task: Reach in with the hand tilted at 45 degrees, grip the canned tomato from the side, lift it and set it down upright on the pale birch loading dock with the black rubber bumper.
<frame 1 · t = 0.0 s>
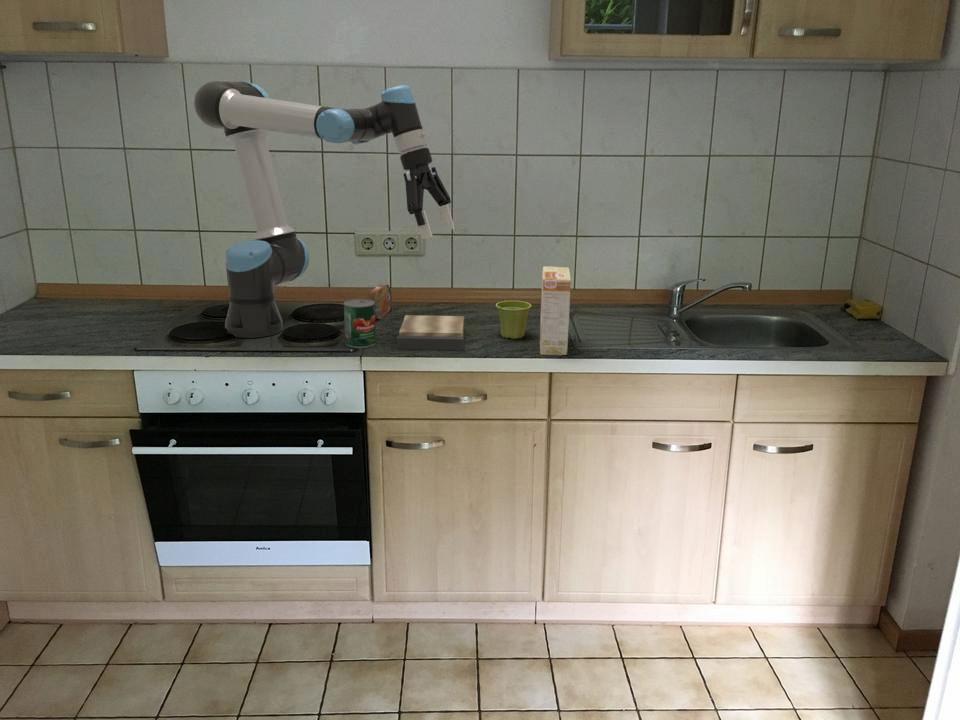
hand: (439, 234, 197), 28 cm above the table, tool tilted 20°, fingers open, 13 cm apart
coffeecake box: (552, 347, 202), on the table
dock: (432, 338, 206), on the table
canned tomato: (360, 344, 201), on the table
plant pot: (512, 336, 210), on the table
orange brown packet: (379, 316, 228), on the table
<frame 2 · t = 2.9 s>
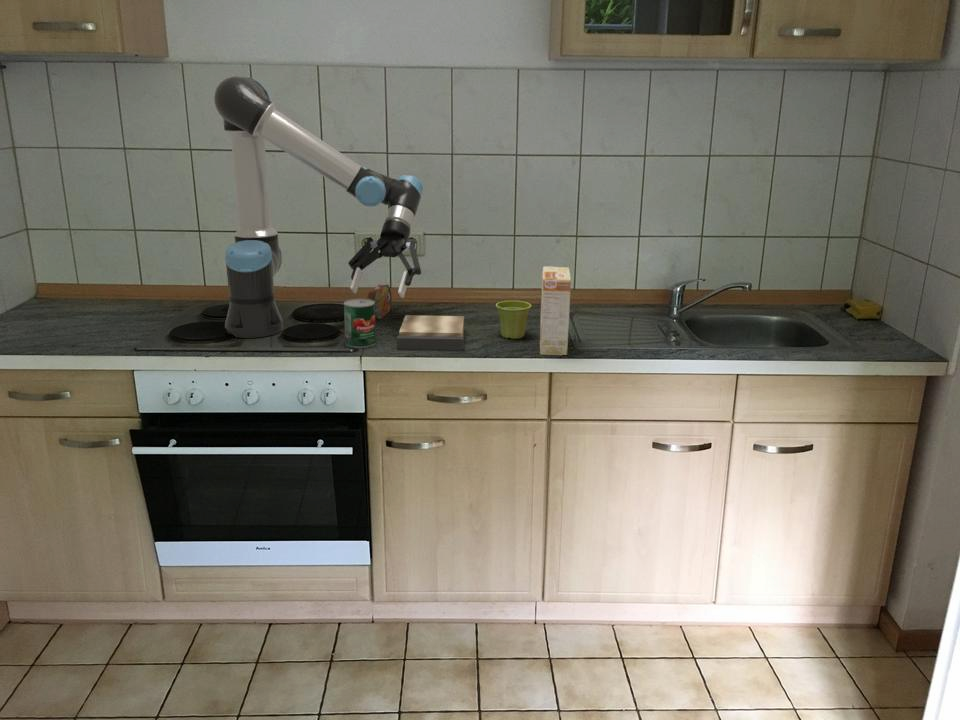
hand: (376, 293, 204), 12 cm above the table, tool tilted 45°, fingers open, 13 cm apart
nothing on the table moved.
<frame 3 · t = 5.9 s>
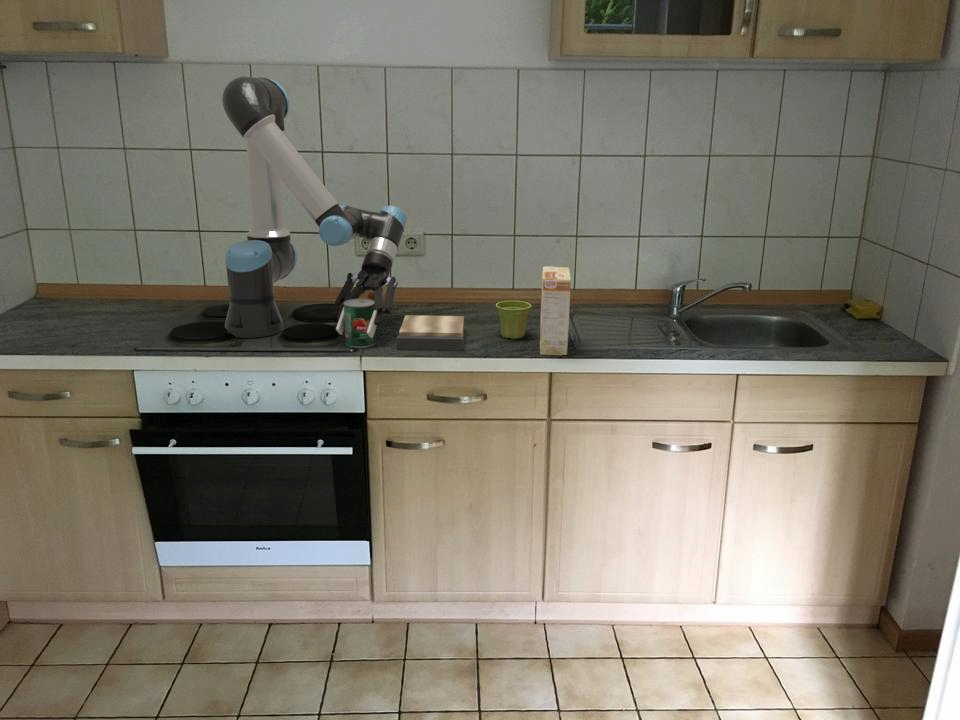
hand: (354, 333, 197), 4 cm above the table, tool tilted 45°, fingers closed on canned tomato, 8 cm apart
canned tomato: (360, 344, 201), on the table, touching gripper
everything else where it was.
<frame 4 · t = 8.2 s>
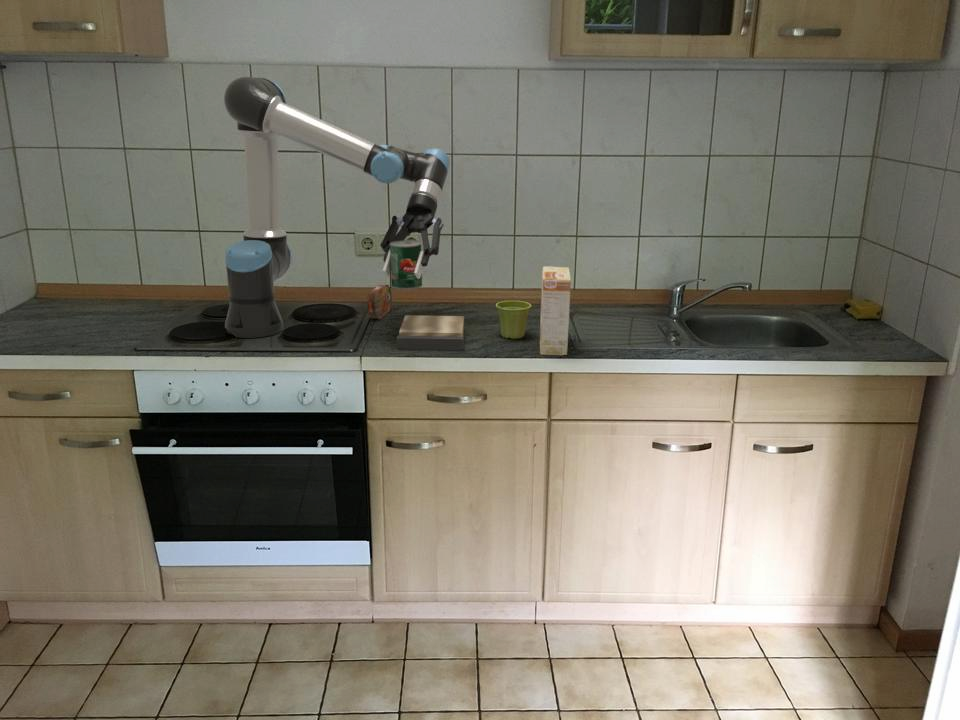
hand: (401, 274, 195), 18 cm above the table, tool tilted 45°, fingers closed on canned tomato, 8 cm apart
canned tomato: (406, 286, 199), point 15 cm above the table, touching gripper
everything else where it was.
when the fingers open (9 cm above the table, at t = 10.5 s): canned tomato drops 1 cm, resting on dock.
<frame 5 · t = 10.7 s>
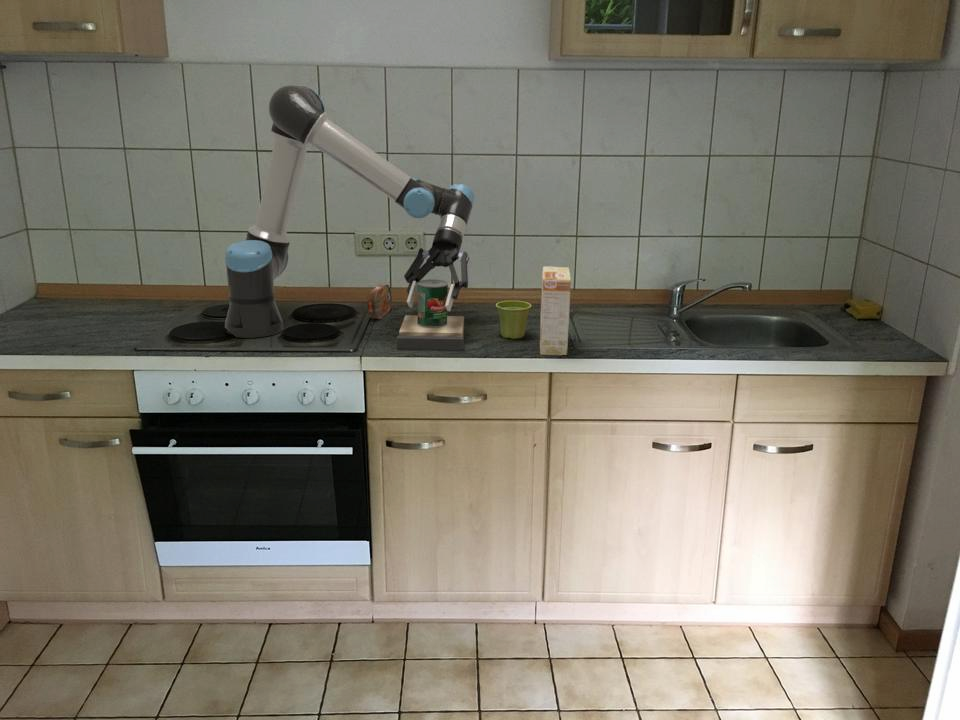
hand: (428, 306, 201), 9 cm above the table, tool tilted 45°, fingers open, 10 cm apart
canned tomato: (432, 324, 205), point 4 cm above the table, touching dock
everything else where it was.
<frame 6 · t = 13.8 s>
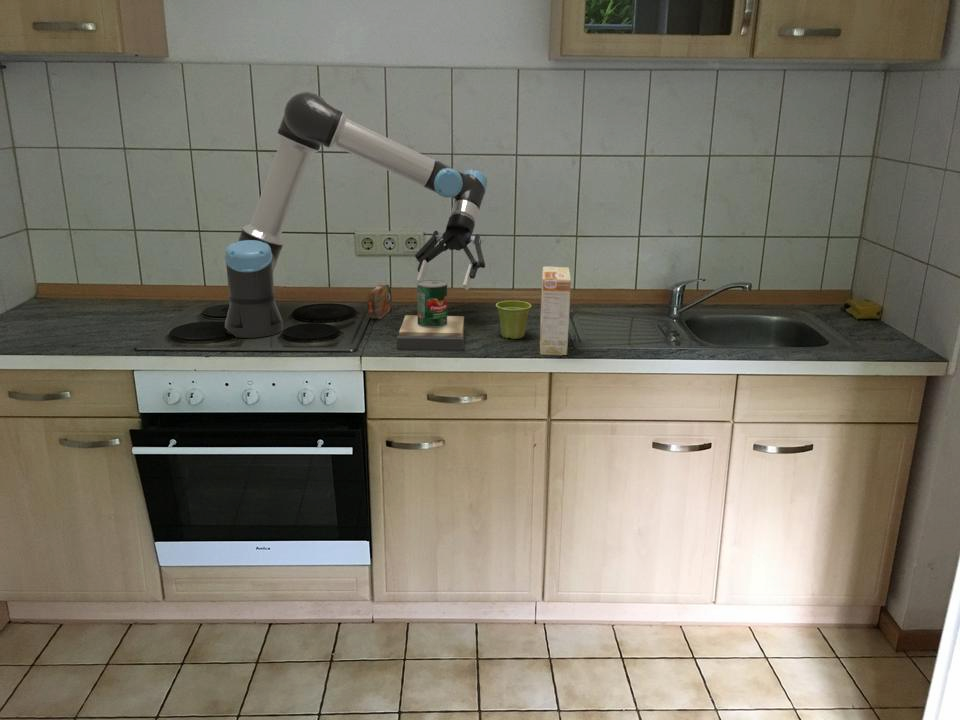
hand: (442, 285, 212), 12 cm above the table, tool tilted 45°, fingers open, 13 cm apart
nothing on the table moved.
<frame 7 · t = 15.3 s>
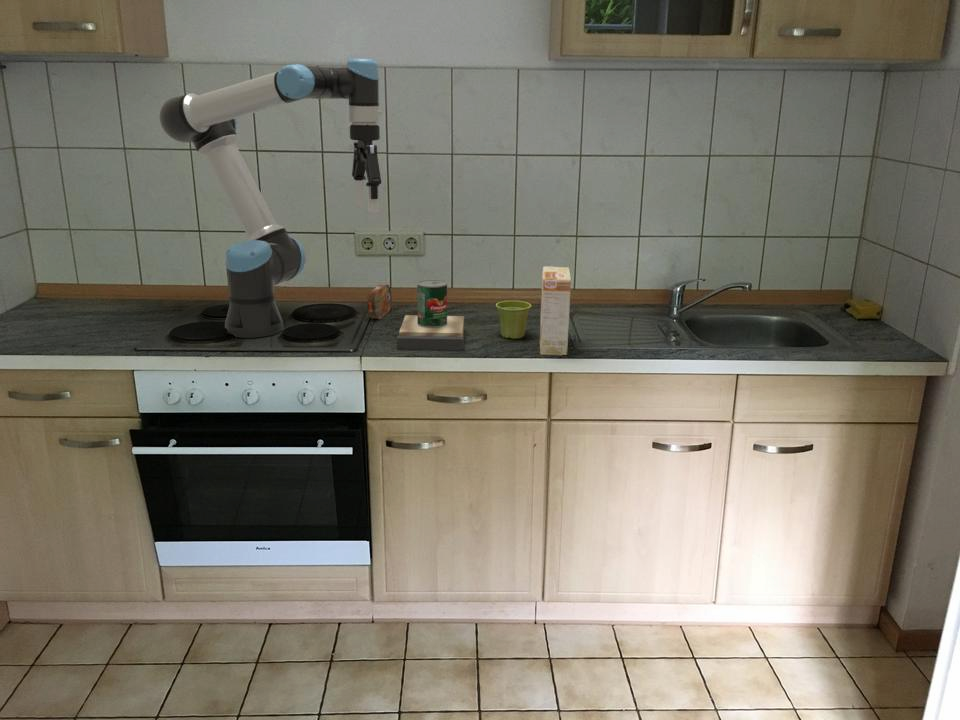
hand: (366, 208, 204), 33 cm above the table, tool pointing down, fingers open, 13 cm apart
nothing on the table moved.
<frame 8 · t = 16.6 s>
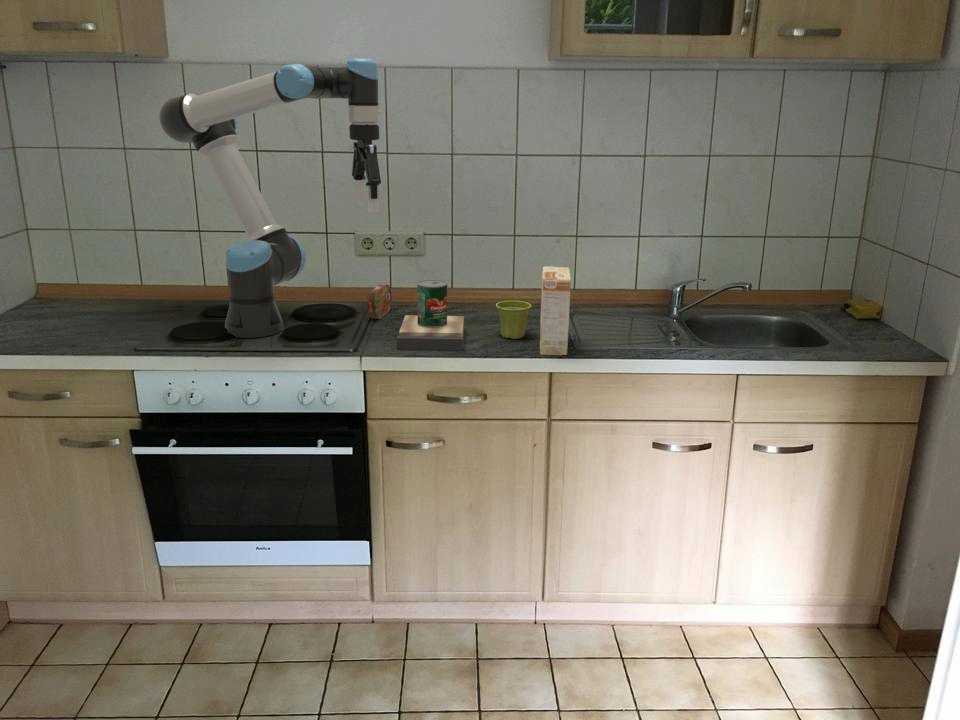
hand: (366, 208, 204), 33 cm above the table, tool pointing down, fingers open, 13 cm apart
nothing on the table moved.
at the end: canned tomato inside the target area on the dock (0.1 cm from its centre), point 3.8 cm above the dock's base; canned tomato tilted 0°; the gripper is holding nothing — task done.
